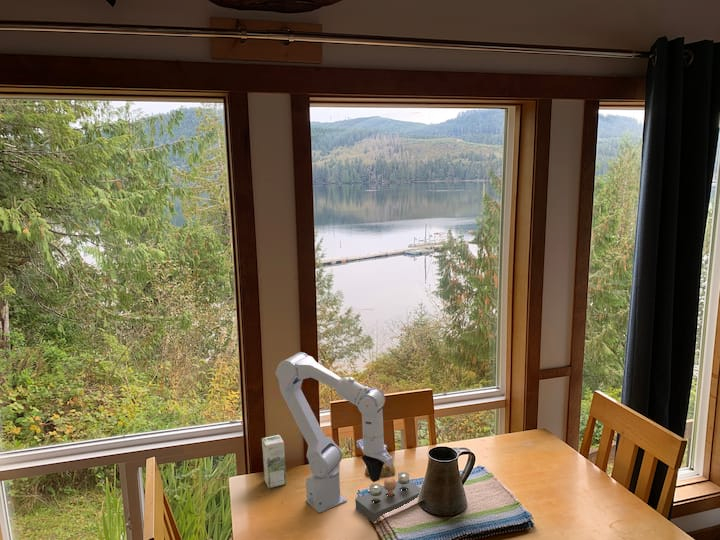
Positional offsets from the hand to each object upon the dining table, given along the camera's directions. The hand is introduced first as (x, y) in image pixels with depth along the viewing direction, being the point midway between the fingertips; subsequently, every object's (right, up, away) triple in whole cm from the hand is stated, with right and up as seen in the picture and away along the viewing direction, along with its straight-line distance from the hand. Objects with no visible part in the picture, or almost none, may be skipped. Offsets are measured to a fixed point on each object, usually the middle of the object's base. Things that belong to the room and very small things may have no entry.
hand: (375, 480), depth 148 cm
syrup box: (-31, -9, +19) cm, 37 cm away
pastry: (+3, -7, +22) cm, 24 cm away
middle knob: (+4, -6, +4) cm, 8 cm away
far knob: (+9, -5, +6) cm, 12 cm away
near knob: (0, -7, +1) cm, 7 cm away
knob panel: (+5, -9, +4) cm, 10 cm away
